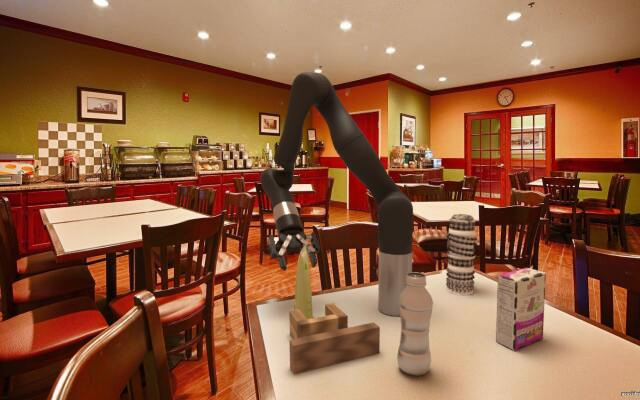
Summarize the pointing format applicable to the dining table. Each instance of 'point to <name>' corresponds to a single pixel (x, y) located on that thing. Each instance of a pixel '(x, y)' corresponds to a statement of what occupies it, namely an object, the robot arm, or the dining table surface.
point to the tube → (303, 285)
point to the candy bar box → (520, 308)
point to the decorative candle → (461, 254)
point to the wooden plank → (334, 347)
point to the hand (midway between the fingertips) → (300, 267)
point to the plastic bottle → (415, 325)
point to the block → (317, 322)
